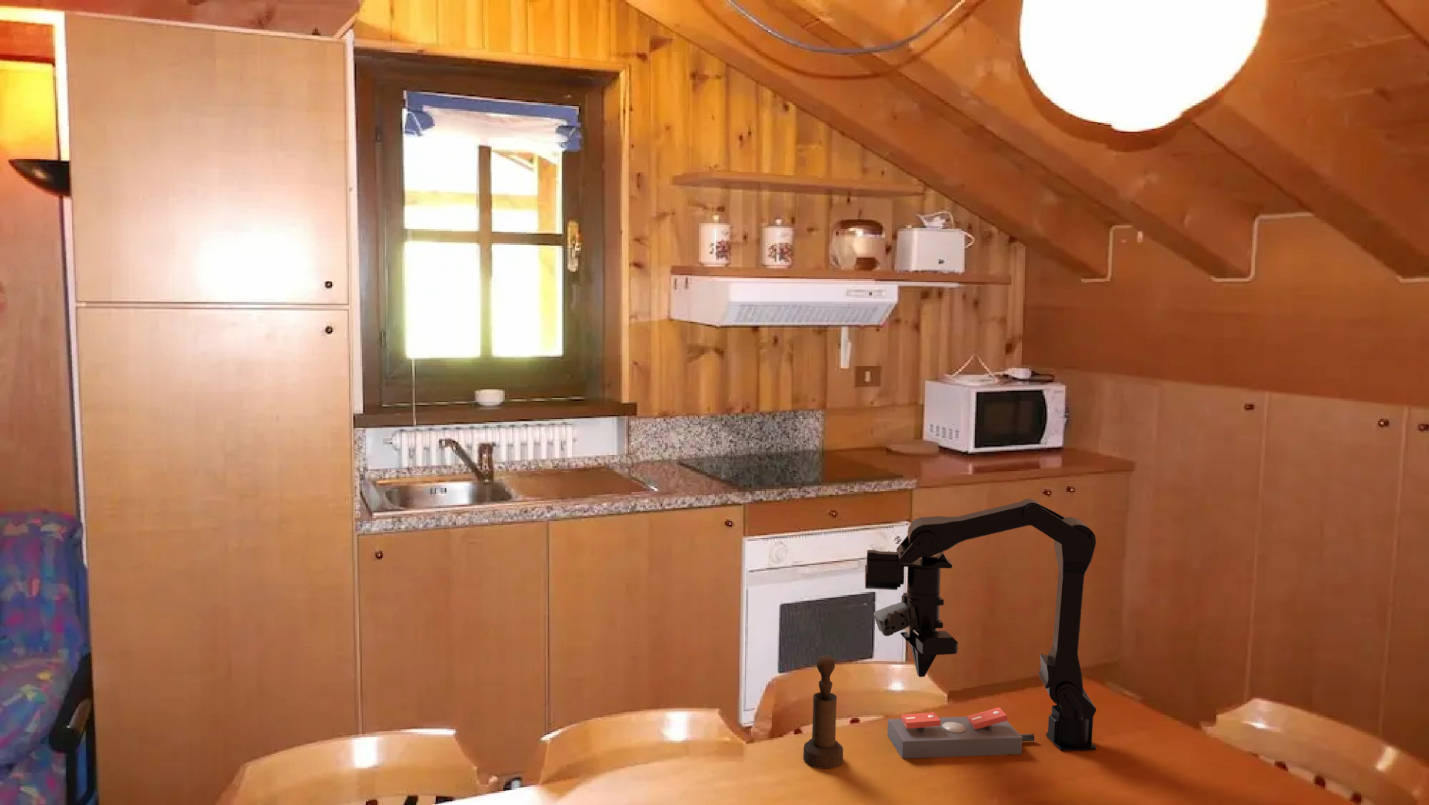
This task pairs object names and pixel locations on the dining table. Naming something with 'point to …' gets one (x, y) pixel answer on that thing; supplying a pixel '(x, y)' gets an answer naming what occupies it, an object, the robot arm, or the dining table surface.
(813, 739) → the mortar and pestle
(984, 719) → the switch
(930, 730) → the switch panel
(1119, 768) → the dining table surface
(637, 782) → the dining table surface
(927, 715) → the switch
